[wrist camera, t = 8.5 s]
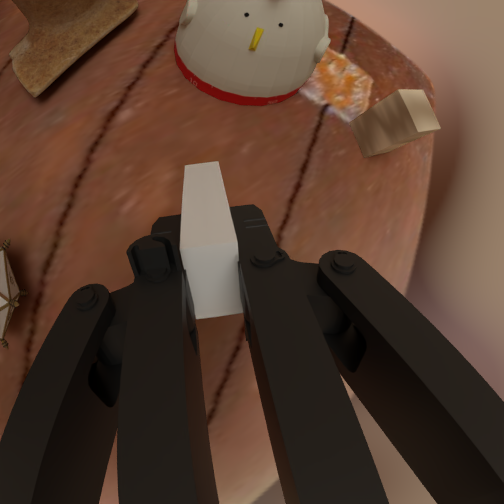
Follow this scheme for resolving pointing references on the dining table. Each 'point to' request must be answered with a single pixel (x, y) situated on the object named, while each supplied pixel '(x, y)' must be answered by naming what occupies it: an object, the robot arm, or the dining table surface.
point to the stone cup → (62, 36)
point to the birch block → (394, 122)
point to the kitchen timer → (251, 47)
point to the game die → (7, 292)
